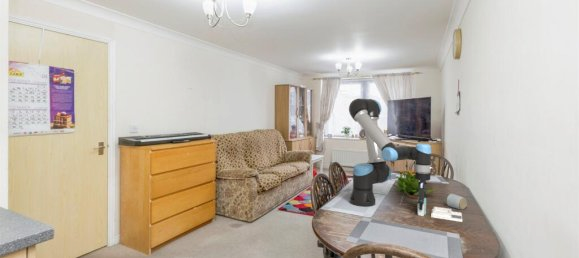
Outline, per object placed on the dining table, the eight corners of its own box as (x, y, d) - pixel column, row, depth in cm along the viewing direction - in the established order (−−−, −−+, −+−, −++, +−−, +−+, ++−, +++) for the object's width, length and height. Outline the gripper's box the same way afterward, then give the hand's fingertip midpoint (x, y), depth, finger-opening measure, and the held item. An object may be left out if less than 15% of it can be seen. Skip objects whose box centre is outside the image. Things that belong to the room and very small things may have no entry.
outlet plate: (431, 217, 153) (431, 212, 153) (432, 210, 163) (432, 205, 163) (462, 222, 146) (462, 216, 146) (461, 214, 157) (461, 210, 156)
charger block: (417, 213, 159) (417, 196, 158) (417, 211, 162) (418, 194, 162) (425, 214, 157) (425, 197, 156) (425, 212, 160) (426, 195, 160)
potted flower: (437, 195, 196) (438, 169, 195) (433, 204, 176) (433, 175, 175) (398, 189, 209) (399, 165, 209) (390, 197, 189) (391, 170, 189)
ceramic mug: (459, 211, 163) (460, 197, 163) (445, 207, 170) (446, 194, 170) (470, 208, 168) (471, 195, 168) (456, 204, 175) (457, 192, 175)
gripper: (429, 176, 147) (428, 220, 148) (431, 169, 167) (430, 207, 168) (413, 175, 150) (412, 217, 151) (417, 168, 170) (416, 205, 171)
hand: (421, 212), depth 159 cm, fingers open, 10 cm apart
